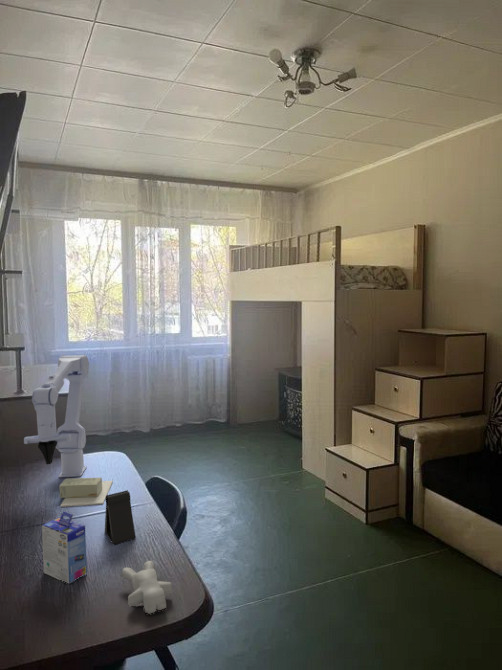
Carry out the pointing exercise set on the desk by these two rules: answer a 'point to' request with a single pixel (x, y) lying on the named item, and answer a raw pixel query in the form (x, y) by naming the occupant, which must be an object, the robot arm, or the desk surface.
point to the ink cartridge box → (64, 548)
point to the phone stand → (119, 517)
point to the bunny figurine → (147, 588)
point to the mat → (89, 500)
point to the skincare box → (80, 487)
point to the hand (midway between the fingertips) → (49, 463)
